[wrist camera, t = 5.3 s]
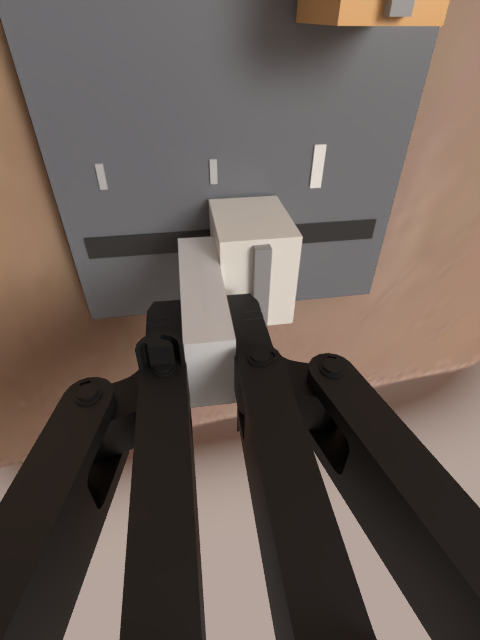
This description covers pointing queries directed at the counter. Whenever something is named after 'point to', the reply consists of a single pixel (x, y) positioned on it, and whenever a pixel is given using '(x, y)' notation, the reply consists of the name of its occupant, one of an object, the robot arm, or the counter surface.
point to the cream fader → (258, 252)
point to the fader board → (214, 132)
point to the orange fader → (372, 12)
